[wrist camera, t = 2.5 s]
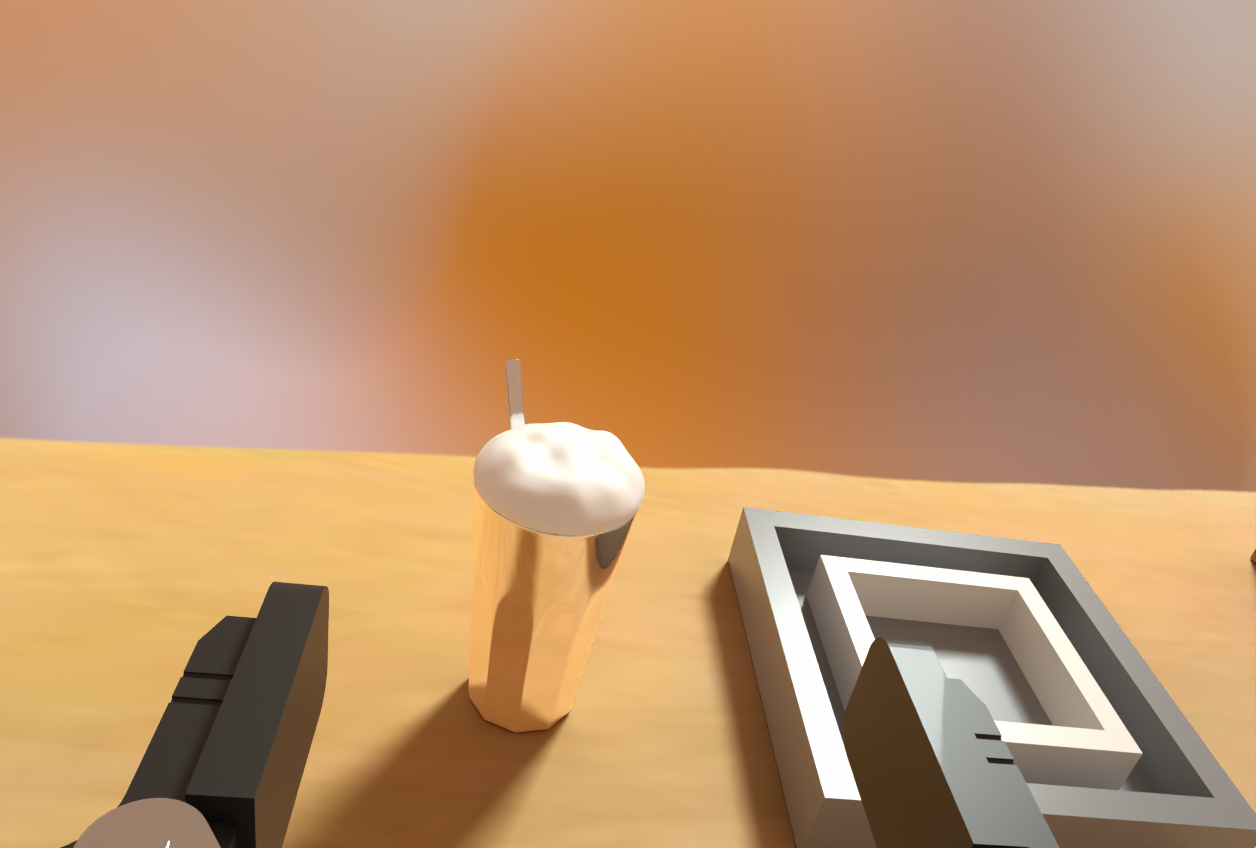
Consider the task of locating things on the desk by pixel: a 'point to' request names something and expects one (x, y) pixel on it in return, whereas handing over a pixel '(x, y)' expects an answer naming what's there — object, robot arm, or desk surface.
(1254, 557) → the tray
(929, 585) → the dock box
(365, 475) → the desk surface
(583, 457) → the milkshake
